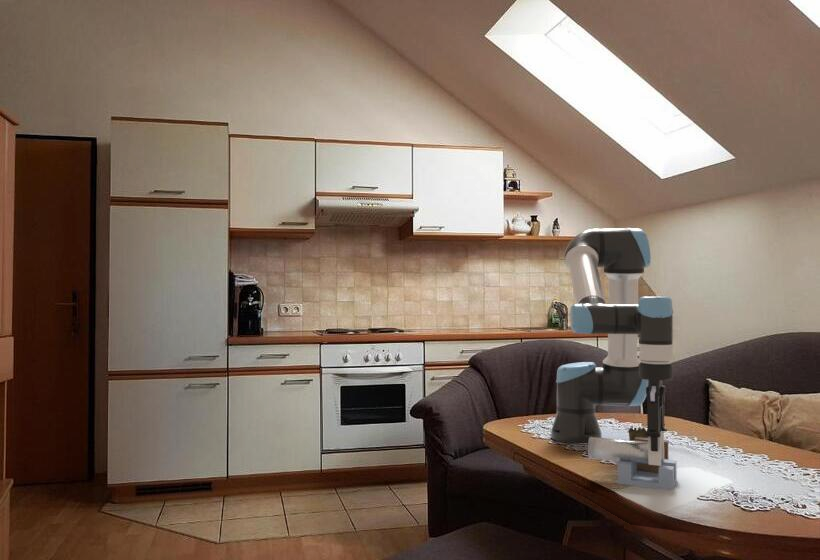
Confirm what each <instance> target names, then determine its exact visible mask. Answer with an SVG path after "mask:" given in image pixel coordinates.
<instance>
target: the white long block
mask: <svg viewBox="0 0 820 560" xmlns="http://www.w3.org/2000/svg"><path fill="white" fill-rule="evenodd" d="M587 454H588V455H587V456H588V459H595V460H597V459H598V460H605V461H616V462H619V461H628V462H634V463H644V464H648V442H642V441H631V440H630V439H629V440H628V439H627V440H626V439H620V438H619V439H618V438H617V439H616V438H608V437H607V438H605V437H602V438H596V437H590V438H589V442H588V444H587Z"/></svg>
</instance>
